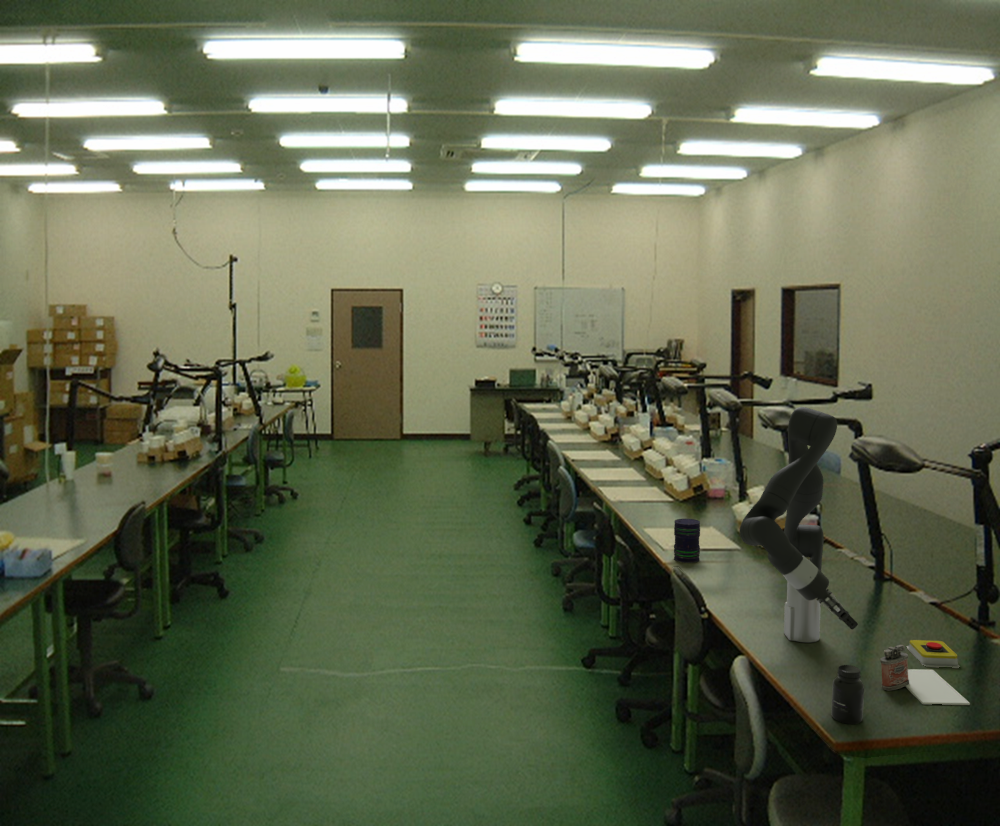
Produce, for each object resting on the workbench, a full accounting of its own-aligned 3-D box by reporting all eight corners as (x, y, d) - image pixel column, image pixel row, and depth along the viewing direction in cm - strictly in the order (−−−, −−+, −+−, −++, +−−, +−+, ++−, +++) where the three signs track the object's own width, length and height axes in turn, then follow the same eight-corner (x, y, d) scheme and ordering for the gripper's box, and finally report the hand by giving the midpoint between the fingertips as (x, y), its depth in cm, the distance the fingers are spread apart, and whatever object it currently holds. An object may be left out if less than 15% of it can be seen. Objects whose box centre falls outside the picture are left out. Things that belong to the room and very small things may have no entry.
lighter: (889, 691, 215) (887, 653, 214) (878, 687, 218) (876, 648, 217) (912, 683, 218) (911, 645, 217) (901, 679, 221) (899, 641, 220)
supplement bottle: (831, 722, 199) (832, 672, 198) (831, 709, 206) (832, 661, 204) (863, 727, 197) (865, 676, 196) (862, 714, 203) (864, 664, 202)
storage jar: (699, 556, 340) (700, 519, 338) (699, 563, 330) (700, 524, 329) (674, 555, 342) (674, 518, 340) (673, 562, 332) (673, 523, 331)
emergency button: (924, 652, 230) (905, 632, 245) (924, 668, 231) (904, 647, 245) (961, 654, 229) (940, 633, 244) (961, 670, 229) (939, 648, 244)
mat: (922, 704, 208) (922, 702, 208) (889, 670, 228) (889, 669, 228) (969, 705, 208) (969, 703, 208) (932, 671, 227) (932, 669, 227)
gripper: (824, 574, 209) (875, 624, 210) (807, 559, 223) (854, 606, 223) (801, 596, 210) (851, 645, 211) (786, 579, 224) (833, 625, 224)
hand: (853, 625), depth 217 cm, fingers closed
